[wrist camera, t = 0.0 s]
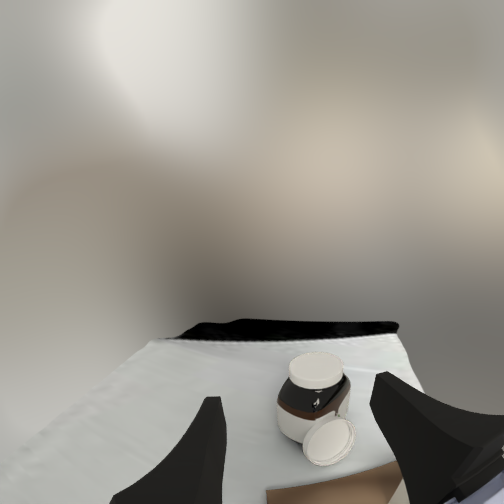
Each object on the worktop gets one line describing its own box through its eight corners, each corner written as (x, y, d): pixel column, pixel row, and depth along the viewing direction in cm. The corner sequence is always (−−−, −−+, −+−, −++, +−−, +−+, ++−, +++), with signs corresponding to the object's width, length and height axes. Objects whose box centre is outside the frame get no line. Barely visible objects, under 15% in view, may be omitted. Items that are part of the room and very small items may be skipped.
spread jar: (313, 402, 39) (314, 342, 37) (374, 425, 31) (386, 360, 29) (259, 443, 31) (253, 379, 29) (326, 480, 23) (337, 417, 21)
